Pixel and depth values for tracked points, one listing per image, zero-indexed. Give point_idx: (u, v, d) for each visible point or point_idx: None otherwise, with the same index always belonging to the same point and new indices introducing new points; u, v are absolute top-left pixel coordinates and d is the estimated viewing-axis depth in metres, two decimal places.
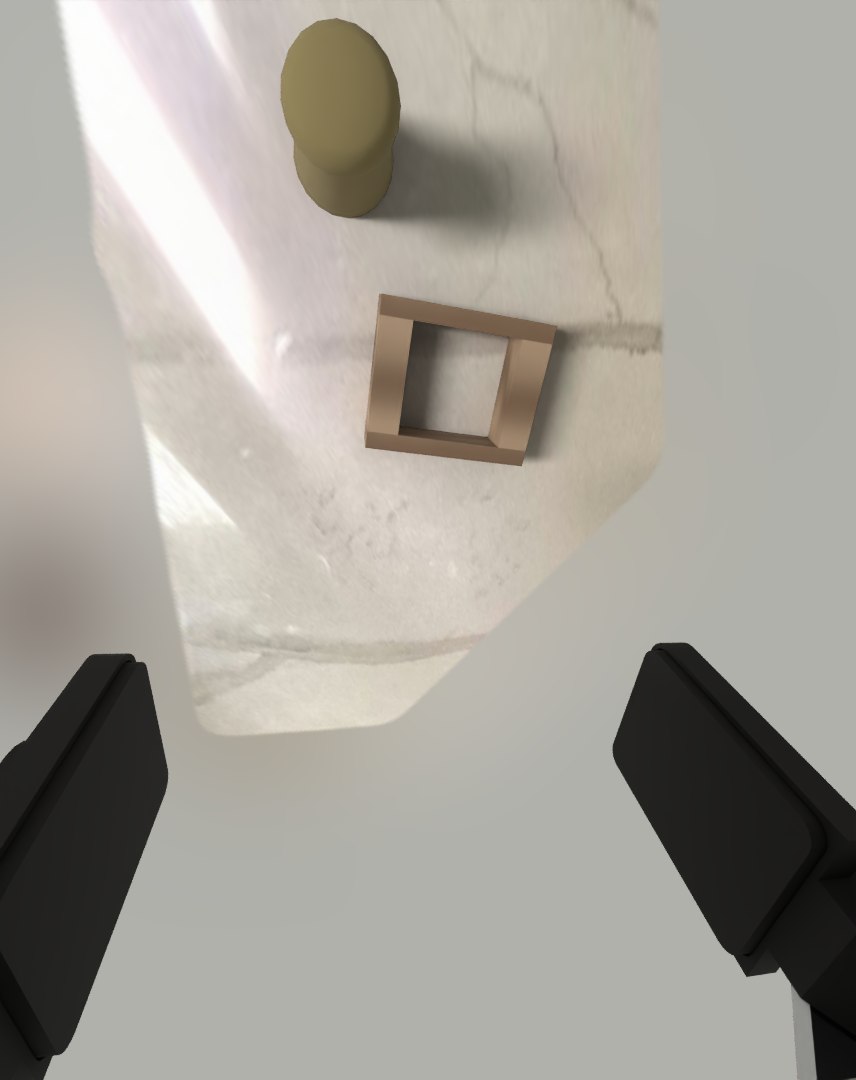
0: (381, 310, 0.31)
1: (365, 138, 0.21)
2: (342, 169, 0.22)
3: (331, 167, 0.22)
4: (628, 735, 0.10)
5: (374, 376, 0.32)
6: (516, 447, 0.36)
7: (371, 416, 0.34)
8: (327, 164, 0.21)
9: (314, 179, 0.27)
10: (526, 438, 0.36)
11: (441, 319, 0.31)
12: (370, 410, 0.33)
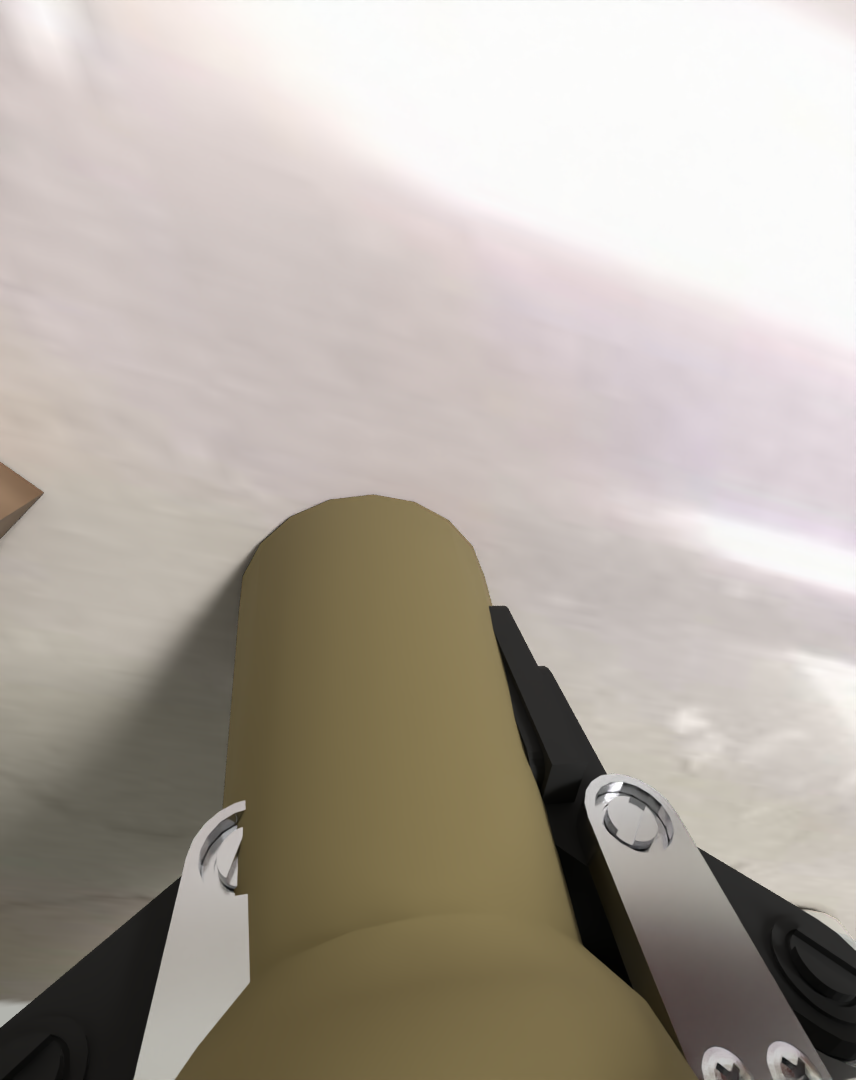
0: None
1: None
2: None
3: None
4: None
5: None
6: None
7: None
8: None
9: (359, 624, 0.07)
10: None
11: None
12: None
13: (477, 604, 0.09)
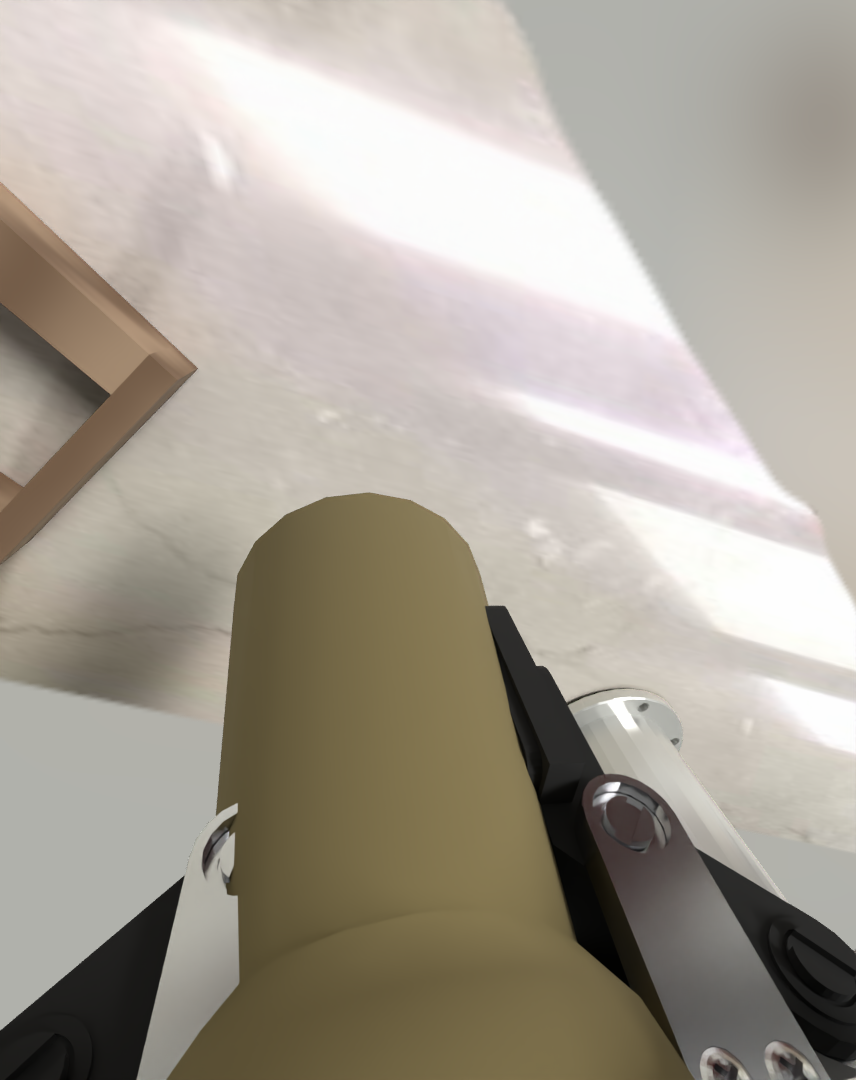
0: (153, 361, 0.18)
1: None
2: None
3: None
4: None
5: (44, 262, 0.16)
6: None
7: None
8: None
9: (354, 622, 0.07)
10: None
11: (88, 433, 0.18)
12: None
13: (473, 601, 0.09)
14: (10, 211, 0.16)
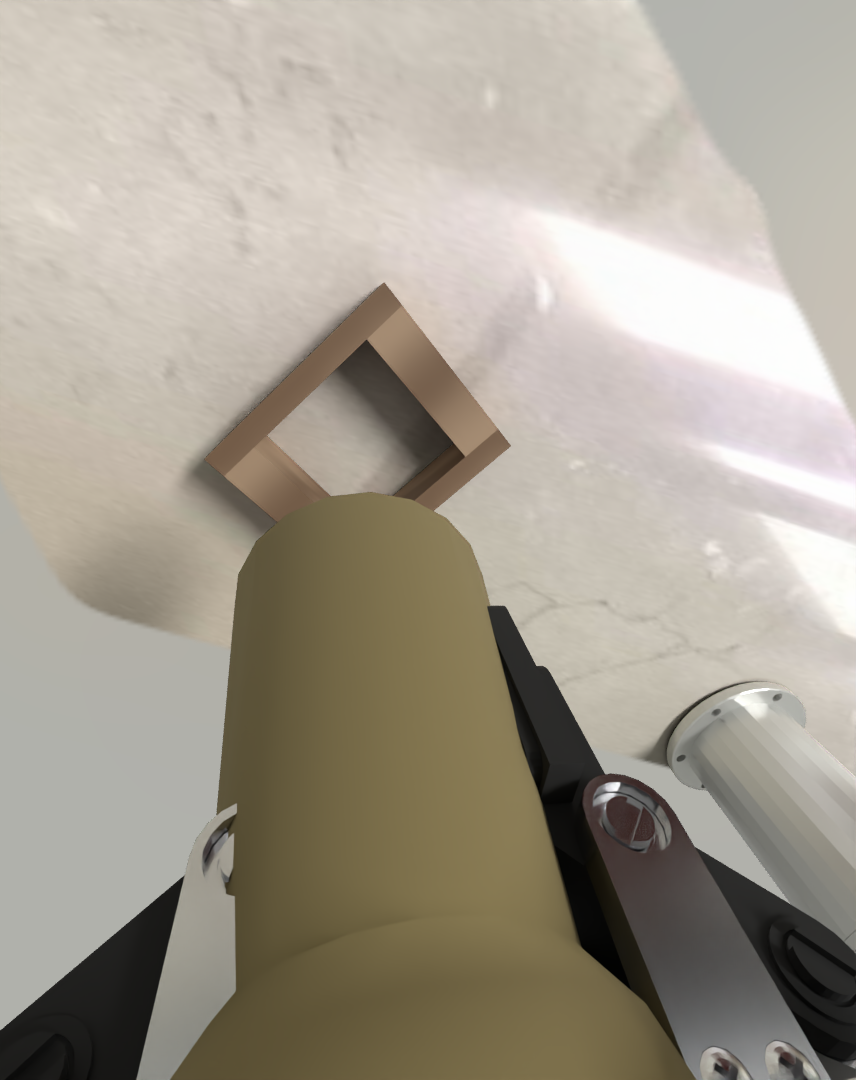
0: (499, 433, 0.25)
1: None
2: None
3: None
4: None
5: (451, 372, 0.23)
6: (237, 468, 0.24)
7: (414, 327, 0.22)
8: None
9: (356, 622, 0.07)
10: (241, 487, 0.24)
11: (443, 483, 0.26)
12: (421, 333, 0.23)
13: (475, 602, 0.09)
14: None
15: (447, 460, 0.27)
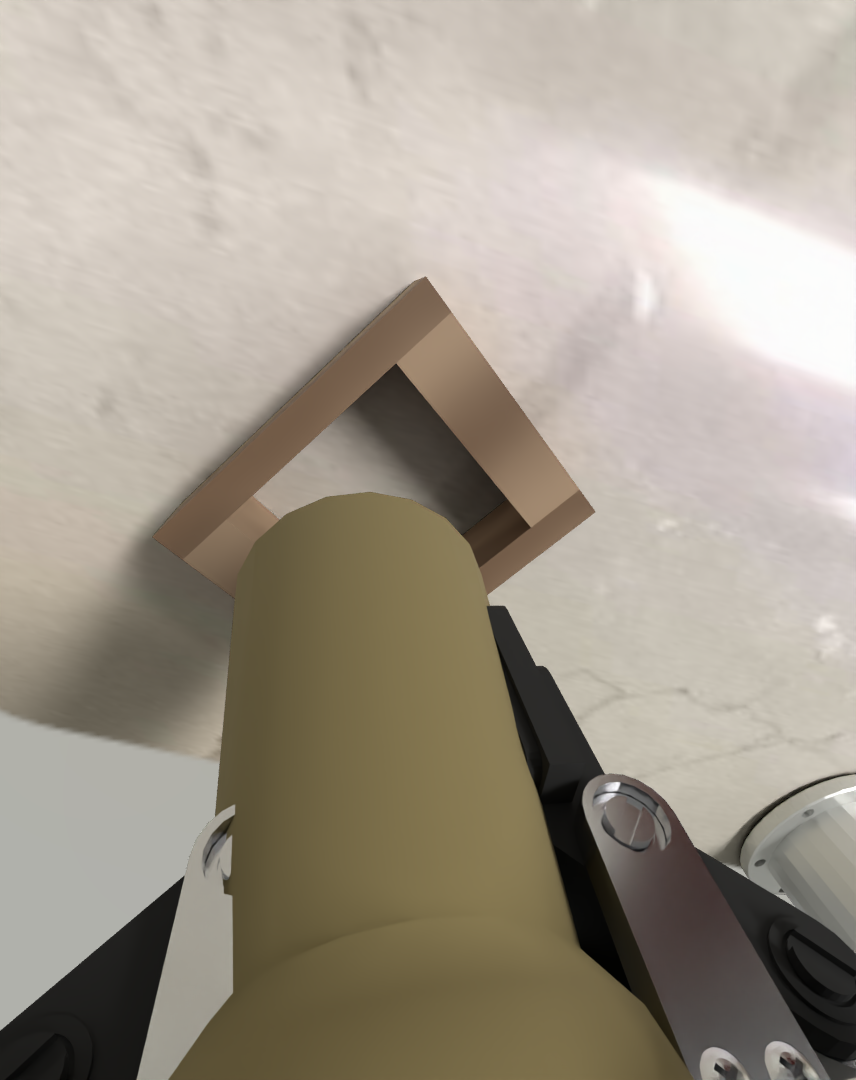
0: (581, 495, 0.18)
1: None
2: None
3: None
4: None
5: (519, 410, 0.16)
6: (202, 549, 0.16)
7: (468, 345, 0.15)
8: None
9: (355, 622, 0.07)
10: (209, 574, 0.17)
11: (497, 563, 0.18)
12: (478, 354, 0.15)
13: (474, 602, 0.09)
14: None
15: (500, 527, 0.19)
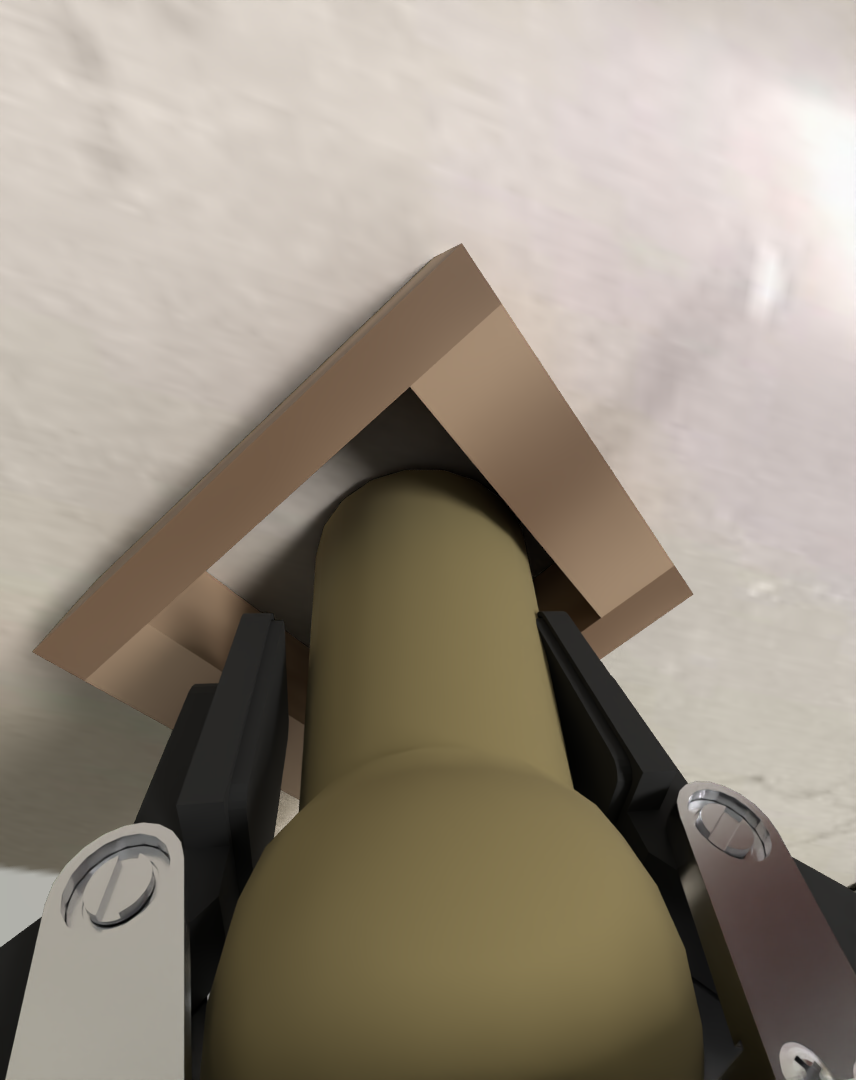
0: (676, 573, 0.12)
1: None
2: (266, 1001, 0.04)
3: (316, 967, 0.04)
4: None
5: (597, 456, 0.10)
6: (113, 665, 0.11)
7: (525, 357, 0.09)
8: (333, 990, 0.04)
9: (429, 564, 0.09)
10: (127, 697, 0.11)
11: None
12: (541, 371, 0.09)
13: (522, 569, 0.11)
14: None
15: (551, 607, 0.14)
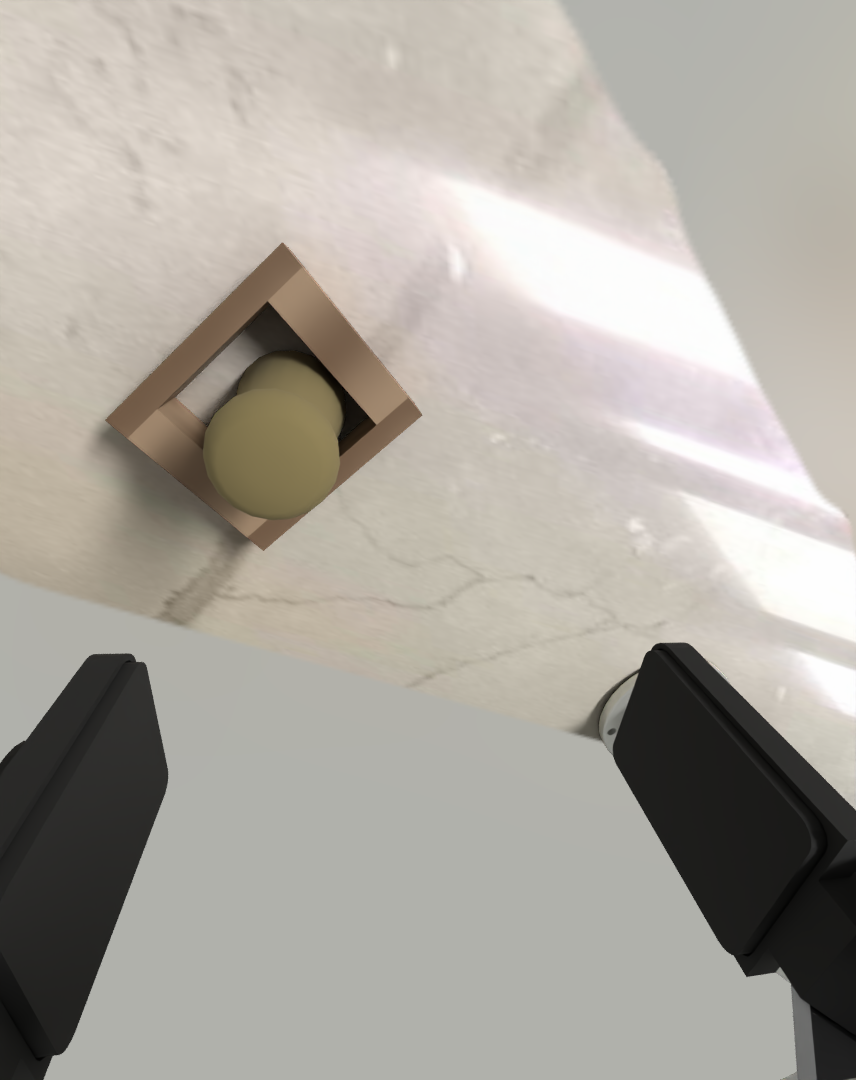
0: (410, 402, 0.25)
1: (219, 460, 0.17)
2: (217, 416, 0.17)
3: (228, 407, 0.17)
4: (628, 735, 0.10)
5: (357, 337, 0.23)
6: (140, 431, 0.24)
7: (316, 290, 0.22)
8: (231, 406, 0.17)
9: (277, 371, 0.23)
10: (146, 450, 0.24)
11: (355, 451, 0.26)
12: (324, 296, 0.22)
13: (326, 384, 0.25)
14: None
15: (362, 429, 0.27)
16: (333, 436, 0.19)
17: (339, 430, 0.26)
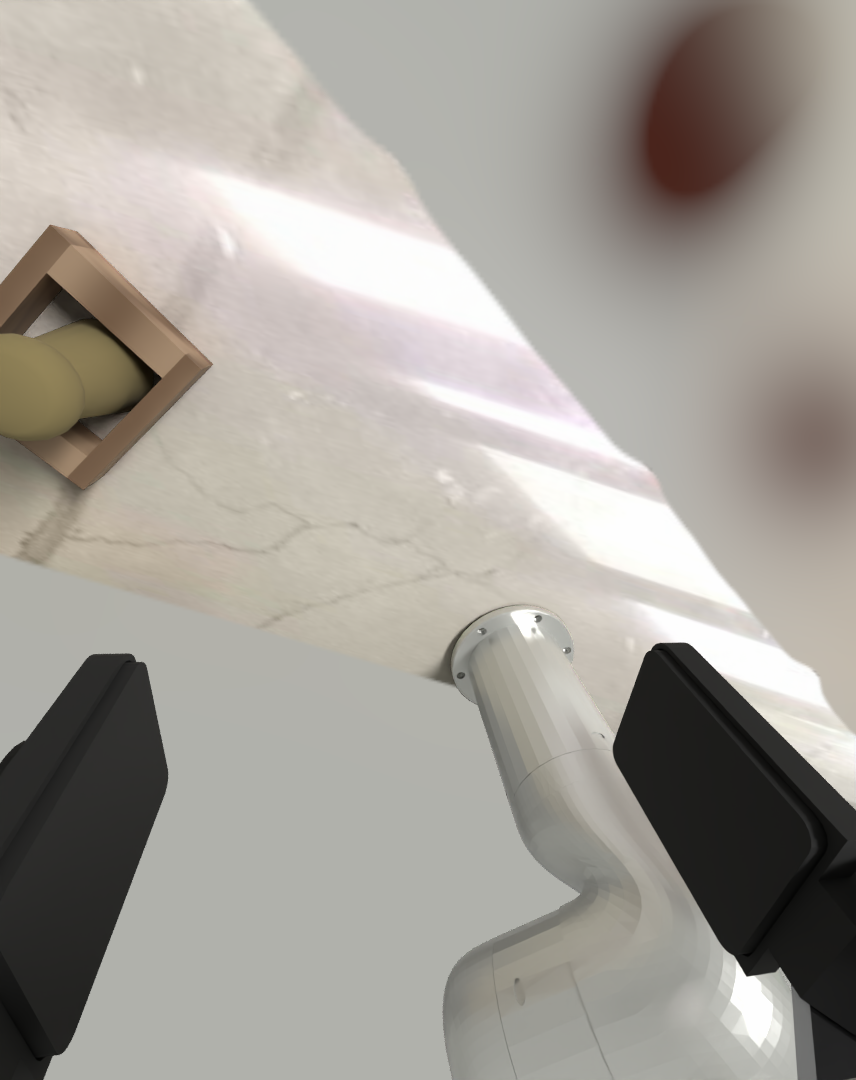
0: (187, 358, 0.30)
1: None
2: None
3: None
4: (628, 735, 0.10)
5: (129, 303, 0.29)
6: None
7: (86, 263, 0.27)
8: None
9: (59, 330, 0.28)
10: None
11: (148, 401, 0.31)
12: (94, 268, 0.28)
13: (113, 343, 0.30)
14: (110, 274, 0.29)
15: None
16: (64, 371, 0.24)
17: (135, 384, 0.31)
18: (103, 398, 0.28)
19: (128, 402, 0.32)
